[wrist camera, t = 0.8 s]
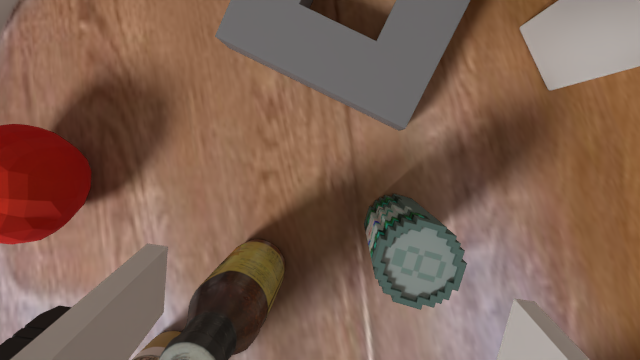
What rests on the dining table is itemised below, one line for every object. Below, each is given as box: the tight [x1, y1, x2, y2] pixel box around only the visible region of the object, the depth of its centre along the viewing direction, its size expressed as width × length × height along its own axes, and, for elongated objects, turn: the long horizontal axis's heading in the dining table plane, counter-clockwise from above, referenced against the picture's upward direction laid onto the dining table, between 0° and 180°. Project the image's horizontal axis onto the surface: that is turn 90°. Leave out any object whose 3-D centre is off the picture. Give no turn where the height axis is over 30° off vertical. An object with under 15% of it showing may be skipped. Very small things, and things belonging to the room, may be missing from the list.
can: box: [364, 194, 467, 310], centre depth 35 cm, size 6×6×15 cm
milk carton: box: [520, 0, 640, 90], centre depth 30 cm, size 7×7×19 cm
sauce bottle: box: [159, 239, 285, 360], centre depth 34 cm, size 6×6×20 cm
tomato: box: [0, 124, 91, 244], centre depth 38 cm, size 12×12×13 cm
